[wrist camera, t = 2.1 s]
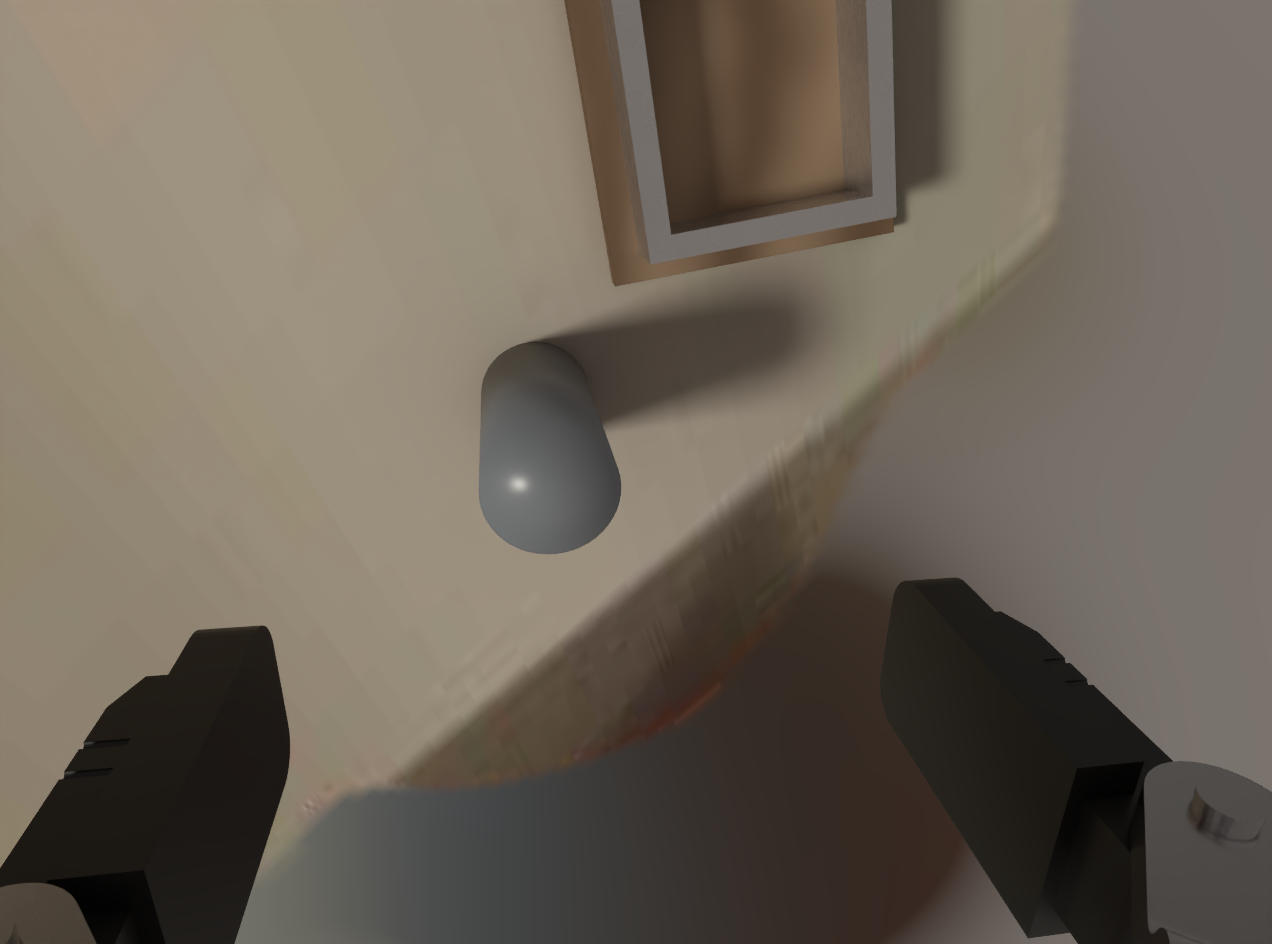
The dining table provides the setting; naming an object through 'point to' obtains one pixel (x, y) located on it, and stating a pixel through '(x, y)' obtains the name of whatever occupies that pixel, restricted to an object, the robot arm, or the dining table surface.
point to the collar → (861, 201)
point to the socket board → (720, 119)
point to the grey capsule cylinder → (544, 452)
